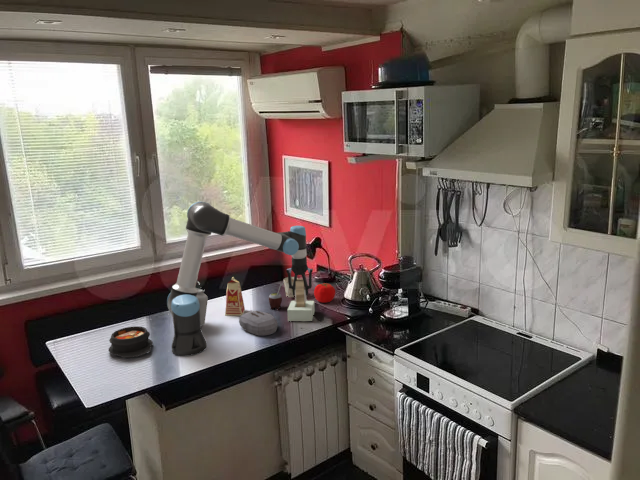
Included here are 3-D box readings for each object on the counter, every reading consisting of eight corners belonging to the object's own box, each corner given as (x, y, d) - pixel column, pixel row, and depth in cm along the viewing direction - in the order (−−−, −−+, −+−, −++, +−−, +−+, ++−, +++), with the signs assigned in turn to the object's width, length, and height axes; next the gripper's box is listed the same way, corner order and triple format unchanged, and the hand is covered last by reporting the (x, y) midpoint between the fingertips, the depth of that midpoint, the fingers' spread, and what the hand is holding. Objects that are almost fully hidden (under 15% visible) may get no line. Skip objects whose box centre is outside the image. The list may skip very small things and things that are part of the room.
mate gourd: (266, 307, 277) (265, 281, 274) (279, 304, 281) (278, 278, 278) (273, 311, 271) (272, 284, 268) (286, 308, 275) (285, 281, 272)
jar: (170, 325, 240) (187, 274, 241) (160, 317, 251) (177, 269, 253) (206, 333, 250) (223, 284, 252) (195, 325, 262) (211, 278, 264)
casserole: (102, 346, 234) (100, 329, 232) (143, 336, 245) (142, 319, 243) (117, 366, 214) (114, 347, 212) (161, 353, 225) (159, 335, 223)
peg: (304, 307, 260) (303, 281, 257) (296, 307, 260) (295, 281, 257) (305, 305, 264) (304, 278, 261) (297, 304, 264) (296, 278, 261)
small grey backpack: (235, 328, 250) (259, 340, 236) (234, 312, 249) (258, 323, 234) (260, 320, 260) (285, 331, 246) (259, 304, 258) (284, 314, 244)
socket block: (311, 321, 256) (311, 310, 254) (287, 321, 257) (287, 310, 256) (314, 311, 269) (314, 300, 268) (291, 311, 270) (291, 300, 269)
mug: (299, 293, 299) (299, 277, 297) (296, 300, 287) (295, 283, 284) (285, 293, 300) (284, 277, 297) (281, 300, 288) (281, 283, 285)
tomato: (311, 304, 281) (310, 286, 279) (317, 297, 291) (317, 279, 289) (332, 305, 277) (332, 287, 275) (338, 298, 288) (337, 281, 286)
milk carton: (242, 315, 267) (239, 278, 263) (224, 315, 267) (221, 279, 263) (245, 309, 276) (242, 273, 271) (228, 309, 276) (225, 273, 272)
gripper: (316, 254, 259) (318, 299, 264) (283, 255, 261) (285, 298, 266) (315, 258, 252) (316, 304, 257) (280, 258, 253) (283, 303, 258)
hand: (300, 301), depth 261 cm, fingers closed on peg, 4 cm apart
